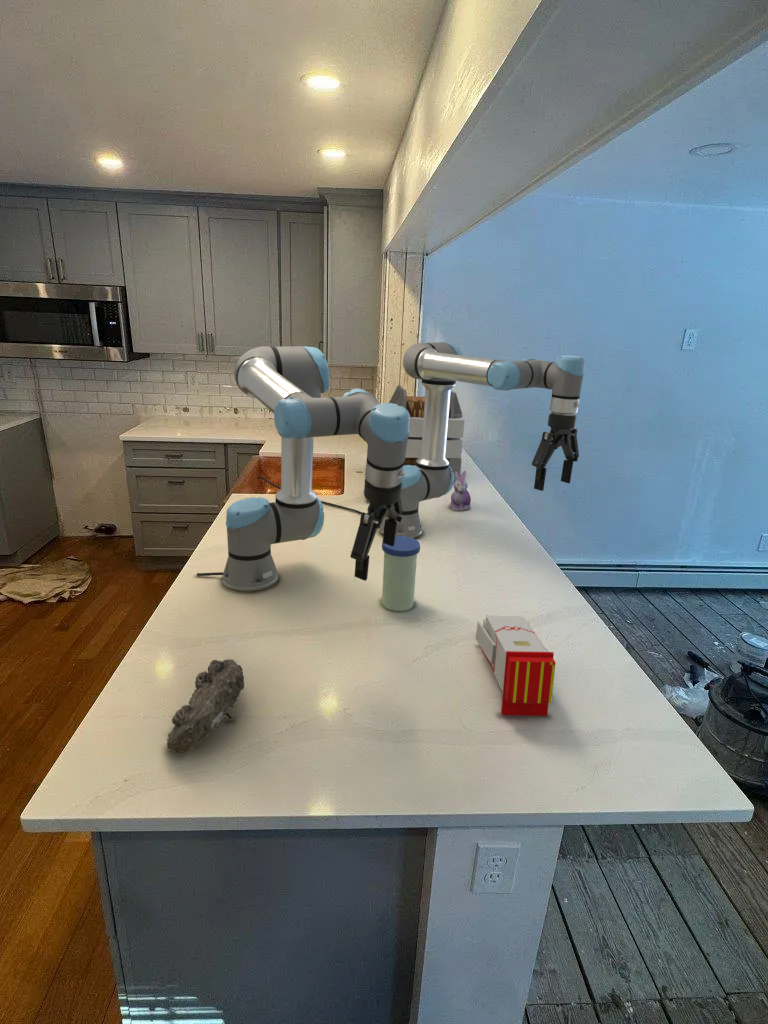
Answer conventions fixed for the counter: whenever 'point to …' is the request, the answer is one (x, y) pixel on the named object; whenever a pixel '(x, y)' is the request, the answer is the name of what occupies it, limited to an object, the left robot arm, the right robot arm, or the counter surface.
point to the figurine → (460, 493)
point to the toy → (518, 664)
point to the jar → (398, 582)
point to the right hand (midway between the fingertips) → (552, 485)
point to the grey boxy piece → (416, 428)
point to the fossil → (206, 705)
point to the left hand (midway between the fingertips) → (375, 560)
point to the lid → (402, 547)
